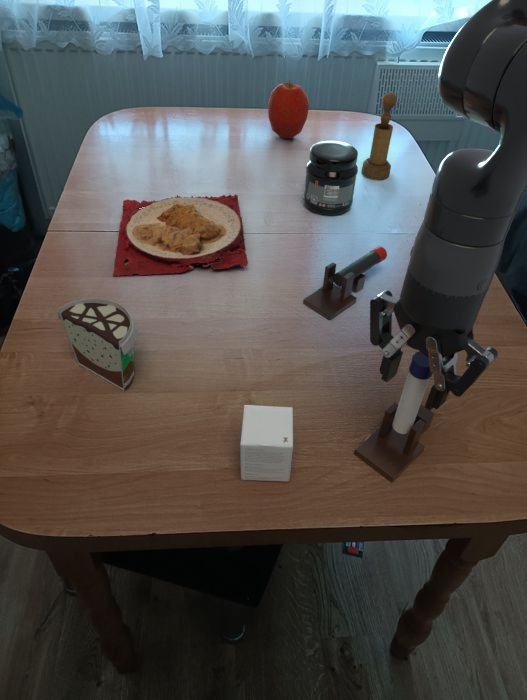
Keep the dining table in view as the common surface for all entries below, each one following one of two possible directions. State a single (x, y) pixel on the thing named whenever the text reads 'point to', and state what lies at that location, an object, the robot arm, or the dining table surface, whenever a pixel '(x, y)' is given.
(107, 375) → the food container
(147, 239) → the plate with food
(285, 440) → the product box
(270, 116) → the apple
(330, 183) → the supplement container
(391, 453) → the white marker stand
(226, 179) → the dining table surface
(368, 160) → the mortar and pestle
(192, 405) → the dining table surface
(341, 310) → the black marker stand
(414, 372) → the white marker
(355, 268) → the black marker
